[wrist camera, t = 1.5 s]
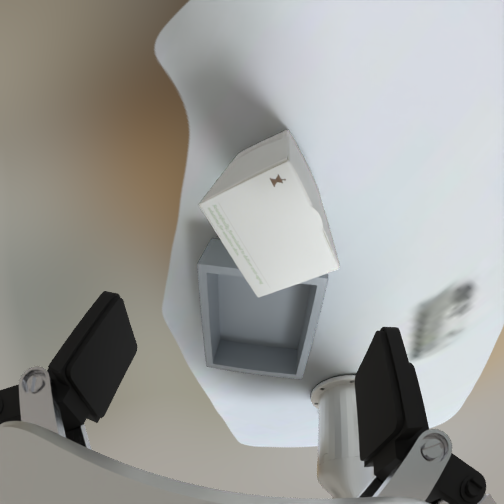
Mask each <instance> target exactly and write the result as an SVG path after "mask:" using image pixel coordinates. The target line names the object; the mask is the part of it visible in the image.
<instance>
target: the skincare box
mask: <svg viewBox="0 0 504 504" xmlns="http://www.w3.org/2000/svg"><path fill="white" fill-rule="evenodd" d="M198 205H199V207H200V208H201V210H202V211H203V213H204V215H205V216H206V218H207V219H208V221H209V222H210V224H211V225H212V227H213V229H214V230H215V232H216V234H217V235H218V237H219V238H220V240H221V242H222V243H223V245H224V246H225V248H226V249H227V251H228V252H229V254H230V256H231V257H232V259H233V260H234V262H235V264H236V265H237V267H238V268H239V270H240V271H241V273H242V274H243V276H244V278H245V279H246V281H247V282H248V284H249V285H250V287H251V288H252V290H253V291H254V293H255V294H256V296H257V297H261V296H264V295H267V294H270V293H273V292H276V291H279V290H282V289H285V288H288V287H291V286H293V285H296V284H299V283H302V282H305V281H308V280H310V279H313V278H316V277H319V276H321V275H324V274H327V273H330V272H332V271H335V270H338V269H339V268H340V265H339V260H338V256H337V252H336V249H335V245H334V242H333V238H332V234H331V231H330V227H329V224H328V220H327V217H326V213H325V210H324V207H323V203H322V200H321V196H320V193H319V190H318V187H317V185H316V182H315V180H314V178H313V176H312V173H311V171H310V169H309V167H308V165H307V163H306V161H305V159H304V157H303V155H302V153H301V151H300V149H299V147H298V145H297V143H296V142H295V140H294V138H293V136H292V135H291V133H290V131H289V130H285V131H283V132H281V133H278V134H276V135H274V136H272V137H270V138H268V139H265V140H263V141H261V142H259V143H257V144H255V145H253V146H251V147H249V148H247V149H245V150H244V151H242V152H240V153H238V154H237V156H236V157H235V158H234V159H233V161H232V162H231V163H230V164H229V166H228V167H227V168H226V169H225V171H224V172H223V173H222V175H221V176H220V177H219V178H218V180H217V181H216V182H215V184H214V185H213V186H212V187H211V189H210V190H209V191H208V193H207V194H206V195H205V197H204V198H203V199H202V201H201V202H200V203H199V204H198Z"/></svg>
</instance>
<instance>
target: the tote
mask: <svg viewBox="0 0 504 504" xmlns="http://www.w3.org/2000/svg"><path fill="white" fill-rule="evenodd" d="M197 267H198V281H199V294H200V307H201V318H202V328H203V338H204V348H205V357H206V366H207V367H212V368H217V369H223V370H229V371H236V372H243V373H250V374H257V375H265V376H274V377H283V378H293V379H302V377H303V374H304V371H305V367H306V364H307V360H308V357H309V353H310V350H311V346H312V343H313V339H314V335H315V331H316V327H317V324H318V320H319V316H320V312H321V308H322V304H323V299H324V295H325V291H326V287H327V282H328V273H327V274H324V275H321V276H319V277H316V278H313V279H310V280H308V281H305V282H302V283H299V284H296V285H293V286H291V287H288V288H285V289H282V290H279V291H276V292H273V293H270V294H267V295H264V296H261V297H257V296H256V294H255V293H254V291H253V290H252V288H251V287H250V285H249V284H248V282H247V281H246V279H245V278H244V276H243V274H242V273H241V271H240V270H239V268H238V267H237V265H236V264H235V262H234V260H233V259H232V257H231V256H230V254H229V252H228V251H227V249H226V248H225V246H224V245H223V243H222V242H221V240H220V239H213V238H211V240H210V242H209V244H208V245H207V247H206V249H205V251H204V253H203V254H202V256H201V258H200V260H199V262H198V263H197Z"/></svg>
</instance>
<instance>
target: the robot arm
mask: <svg viewBox="0 0 504 504" xmlns="http://www.w3.org/2000/svg"><path fill="white" fill-rule="evenodd" d="M136 351H137V344H136V340H135V338H134V334H133V331H132V328H131V325H130V322H129V318H128V315H127V312H126V309H125V305H124V301H123V299H122V298H120V296H119V294H116V293H112V292H107V291H104V292H103V293H102V294H101V295H100V296H99V298H98V299H97V300H96V302H95V303H94V304H93V305H92V307H91V308H90V309H89V310H88V312H87V313H86V314H85V316H84V317H83V318H82V320H81V321H80V322H79V324H78V325H77V326H76V328H75V329H74V330H73V332H72V333H71V335H70V336H69V337H68V339H67V340H66V341H65V343H64V344H63V346H62V347H61V349H60V350H59V351H58V353H57V354H56V356H55V357H54V359H53V360H52V362H51V363H50V365H49V366H48V367H49V369H48V370H47V371H46V369H44V368H43V367H39V366H35V367H31V368H29V369H28V370H26V371H25V372H24V373H23V374H22V375H21V378H20V380H19V385H16V386H13V387H10V388H6V389H3V390H0V504H496V503H495V501H494V500H493V498H492V497H491V495H490V494H487V495H486V494H485V491H486V482H485V479H484V477H483V476H482V475H481V474H480V473H479V472H478V471H476V470H475V469H473V468H472V467H470V466H469V465H468V464H466V463H465V462H463V461H462V460H461V459H459V458H458V457H456V456H455V455H453V454H452V443H451V440H450V438H449V437H448V435H447V434H446V433H444V432H443V431H441V430H438V429H430V430H429V427H428V422H427V417H426V413H425V408H424V404H423V399H422V395H421V391H420V387H419V383H418V379H417V375H416V372H415V368H414V366H413V365H412V363H409V361H408V358H407V354H406V351H405V347H404V344H403V340H402V337H401V334H400V331H399V329H398V328H396V327H382V328H381V330H380V331H376V333H375V335H374V338H373V340H372V342H371V344H370V346H369V349H368V351H367V353H366V355H365V357H364V359H363V361H362V363H361V365H360V367H359V369H358V371H357V373H356V375H344V376H337V377H333V378H330V379H328V380H325V381H323V382H321V383H320V384H318V385H317V386H316V387H315V388H314V389H313V391H312V393H311V402H312V404H313V405H314V406H315V407H316V408H318V409H319V433H318V461H317V478H318V481H319V483H320V484H321V486H322V487H323V488H324V489H325V490H326V491H327V492H328V493H330V494H331V495H332V497H333V498H332V499H305V498H283V497H282V498H281V497H269V496H260V495H251V494H243V493H237V492H230V491H224V490H218V489H213V488H208V487H203V486H199V485H194V484H190V483H186V482H181V481H178V480H174V479H171V478H167V477H164V476H160V475H157V474H154V473H151V472H147V471H144V470H142V469H139V468H136V467H132V466H130V465H127V464H124V463H122V462H119V461H117V460H114V459H112V458H109V457H107V456H105V455H102V454H100V453H98V452H95V451H93V450H92V449H91V446H90V443H89V440H88V436H87V433H86V429H85V425H84V422H85V420H86V418H87V419H90V420H92V421H94V422H96V423H97V422H98V421H99V419H100V418H102V417H103V416H104V415H105V413H106V411H107V409H108V407H109V405H110V403H111V401H112V399H113V397H114V395H115V393H116V391H117V389H118V387H119V385H120V383H121V381H122V379H123V377H124V375H125V373H126V371H127V369H128V367H129V365H130V363H131V361H132V360H133V358H134V356H135V354H136Z"/></svg>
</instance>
